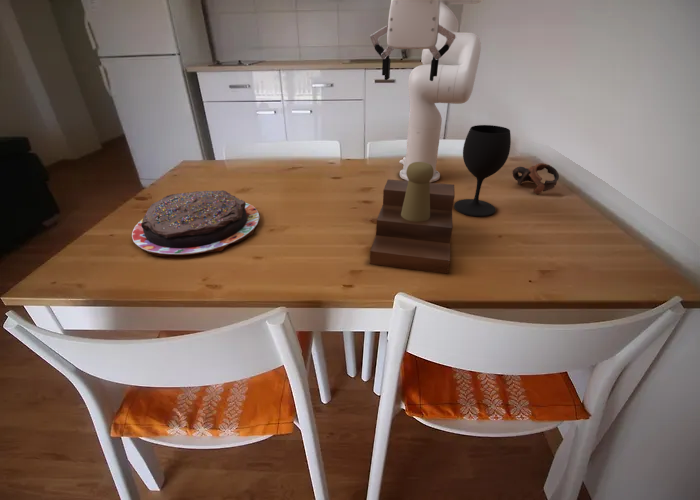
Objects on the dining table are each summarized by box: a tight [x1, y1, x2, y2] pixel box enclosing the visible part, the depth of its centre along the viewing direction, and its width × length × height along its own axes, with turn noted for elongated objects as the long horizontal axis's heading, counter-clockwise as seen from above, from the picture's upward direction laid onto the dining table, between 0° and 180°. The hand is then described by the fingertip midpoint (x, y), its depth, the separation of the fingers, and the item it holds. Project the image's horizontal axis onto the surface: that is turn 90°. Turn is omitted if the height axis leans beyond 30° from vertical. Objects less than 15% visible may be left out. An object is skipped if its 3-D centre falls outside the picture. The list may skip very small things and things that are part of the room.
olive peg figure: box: [401, 162, 434, 222], centre depth 71 cm, size 6×6×11 cm
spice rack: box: [369, 178, 456, 274], centre depth 75 cm, size 21×15×10 cm
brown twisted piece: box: [512, 162, 560, 195], centre depth 102 cm, size 12×10×8 cm
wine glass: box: [453, 124, 512, 218], centre depth 87 cm, size 10×10×20 cm
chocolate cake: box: [131, 190, 260, 257], centre depth 82 cm, size 28×28×7 cm
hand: (408, 79), depth 77 cm, fingers open, 9 cm apart
